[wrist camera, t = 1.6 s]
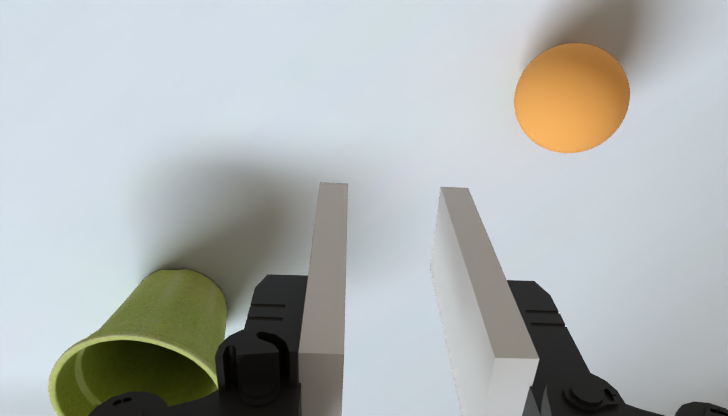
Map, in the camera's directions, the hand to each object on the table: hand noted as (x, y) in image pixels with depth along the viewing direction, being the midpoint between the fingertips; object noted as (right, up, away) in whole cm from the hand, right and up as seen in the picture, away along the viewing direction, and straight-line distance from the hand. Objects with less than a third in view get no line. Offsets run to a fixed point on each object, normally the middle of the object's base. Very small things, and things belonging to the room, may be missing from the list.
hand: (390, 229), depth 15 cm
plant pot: (-13, -6, +22) cm, 26 cm away
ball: (+10, +6, +12) cm, 17 cm away
